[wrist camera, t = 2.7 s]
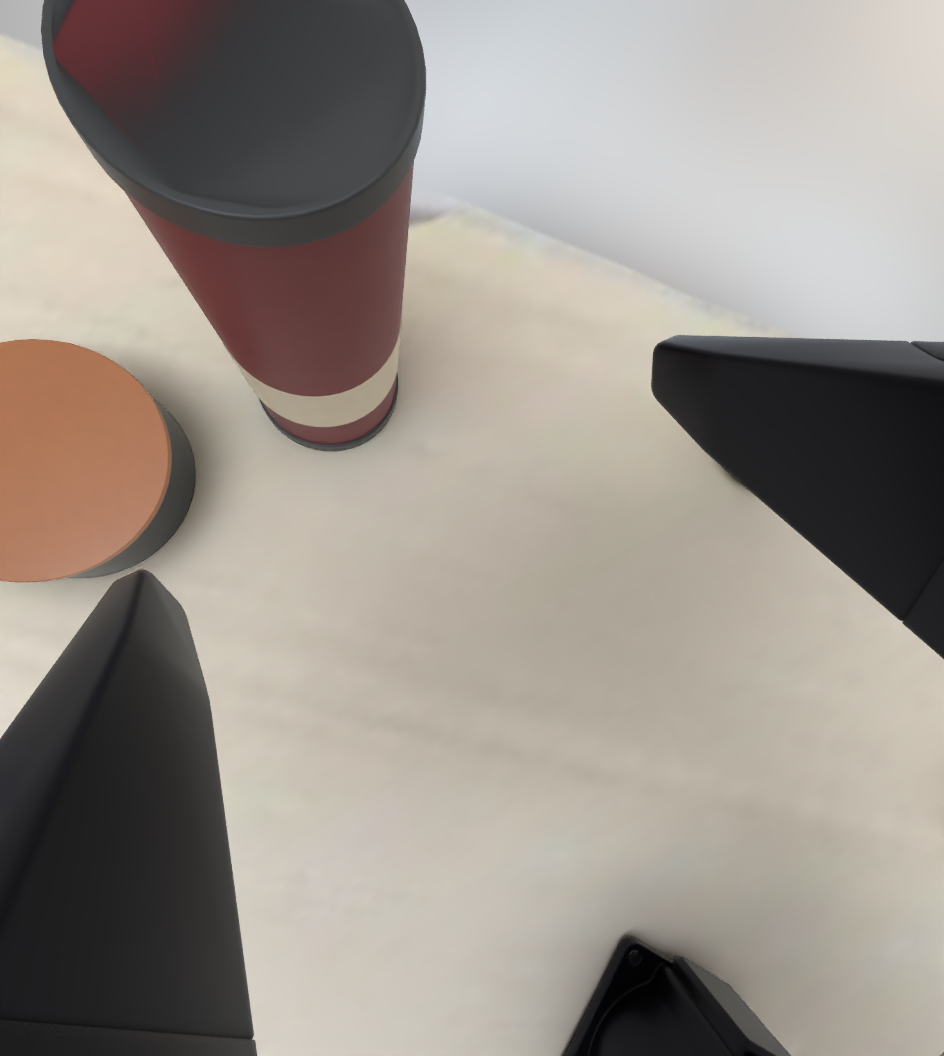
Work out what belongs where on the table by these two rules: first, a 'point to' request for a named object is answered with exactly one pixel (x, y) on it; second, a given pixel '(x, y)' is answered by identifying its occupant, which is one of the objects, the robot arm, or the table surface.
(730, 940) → the table surface
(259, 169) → the tube
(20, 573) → the orange black short cylinder
